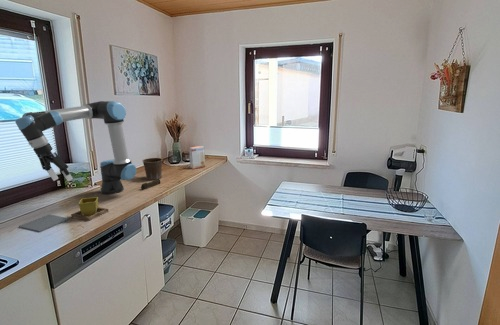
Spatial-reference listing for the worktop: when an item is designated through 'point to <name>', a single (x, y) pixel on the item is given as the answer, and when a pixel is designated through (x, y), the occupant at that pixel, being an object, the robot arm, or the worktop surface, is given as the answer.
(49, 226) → the mat
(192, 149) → the cracker box
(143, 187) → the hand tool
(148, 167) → the plant pot
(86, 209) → the flower pot
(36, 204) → the worktop surface
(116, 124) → the robot arm
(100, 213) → the square wooden frame
